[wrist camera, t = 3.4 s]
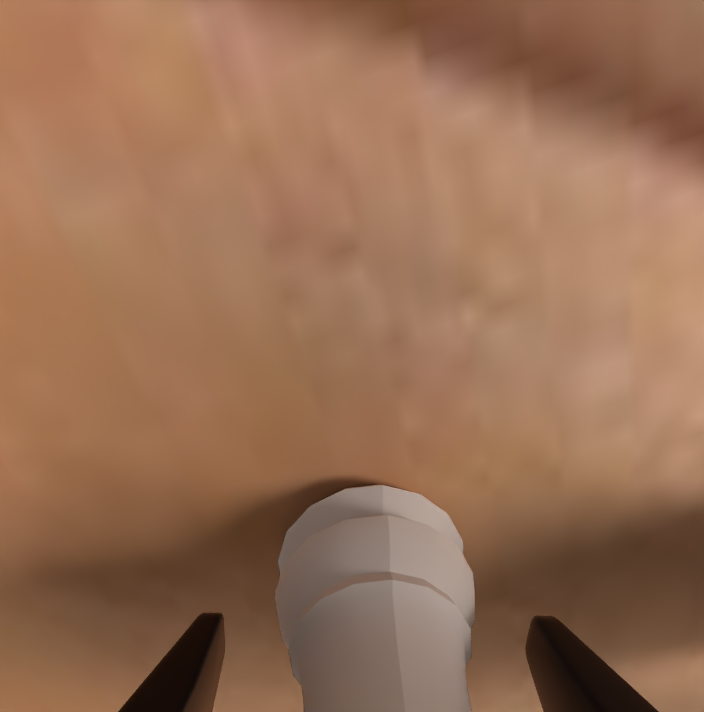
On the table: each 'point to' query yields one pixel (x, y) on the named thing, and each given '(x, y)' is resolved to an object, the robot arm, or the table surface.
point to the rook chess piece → (377, 604)
